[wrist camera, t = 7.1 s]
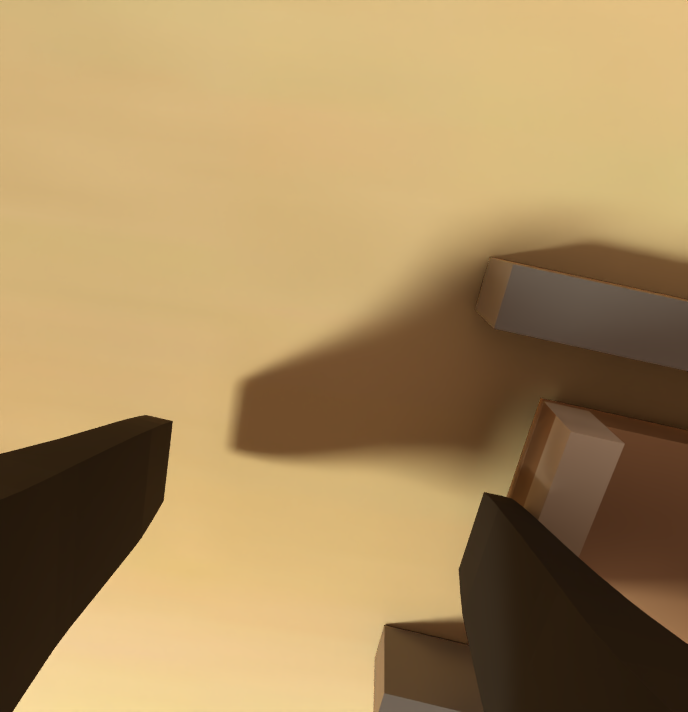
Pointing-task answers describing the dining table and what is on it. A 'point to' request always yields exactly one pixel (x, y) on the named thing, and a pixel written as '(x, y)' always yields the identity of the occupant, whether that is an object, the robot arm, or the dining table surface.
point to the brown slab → (613, 501)
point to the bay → (557, 324)
